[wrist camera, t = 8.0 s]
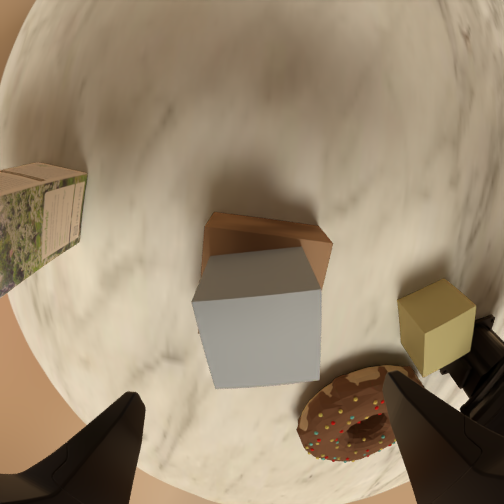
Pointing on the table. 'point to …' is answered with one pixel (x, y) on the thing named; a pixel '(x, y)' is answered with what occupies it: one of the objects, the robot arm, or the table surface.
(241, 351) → the slate cube
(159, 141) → the table surface
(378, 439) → the donut
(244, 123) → the table surface
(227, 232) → the walnut slab
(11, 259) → the syrup box
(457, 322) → the olive cube
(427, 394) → the robot arm
